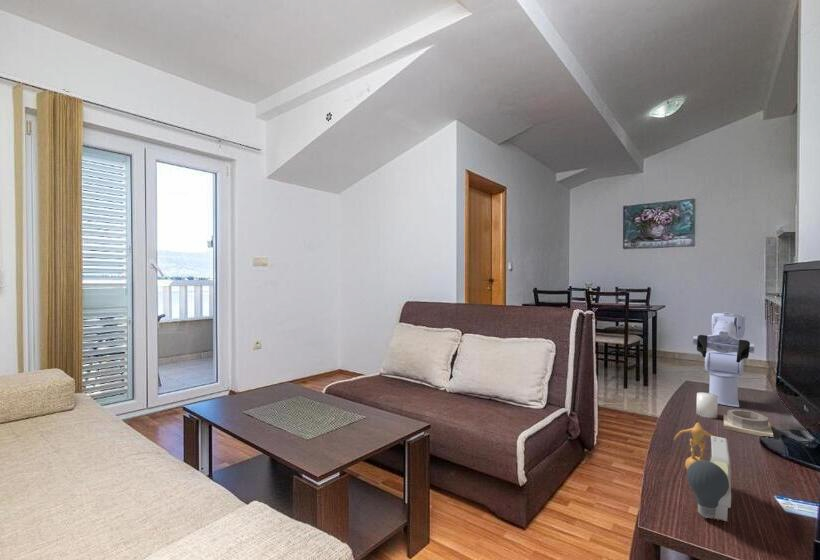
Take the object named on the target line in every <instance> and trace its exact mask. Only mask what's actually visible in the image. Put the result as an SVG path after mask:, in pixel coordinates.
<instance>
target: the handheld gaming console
mask: <svg viewBox="0 0 820 560" xmlns="http://www.w3.org/2000/svg"><path fill="white" fill-rule="evenodd" d="M728 446H729V445H728V440H727V438H725V437H721V436H715V435H713V436H711V437H710V447H709V448H710V449H709V462H712V463H714V464H716V465H718V466H719V467H720V468H721V469H722V470H723V471H724V472H725V474H726V476H727V478H728V482H729V489H728V491H727V493H726V494H725V495H724V496H723V497H722V498H721V499H720V500H719V502H718V506H717V507H716V508H715V516H714V517H715V518H719V519H723V520H725V521H727V522H728V509H730V508H731V507H732V487H731V461H730V453H729V447H728Z"/></svg>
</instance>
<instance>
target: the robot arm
mask: <svg viewBox="0 0 820 560" xmlns="http://www.w3.org/2000/svg"><path fill="white" fill-rule="evenodd" d="M745 332H746V316H745V314H738V313H731V312H729V311H725V312H724V311H723V312H722V313H721V312H717V313H715V312H714V313H713V314H712V315H711V334H706V335H704V334H700V335H694V336H693V338H692V345H696V350H697V352H699V353H700V354H701V355H702V357H703V358H704V371H706V372H708V374H709V386H708V387H709V388H708V389H709V391H708V393H710V394H714V395H716V396H718V404H717V405H722V406H729V407H735V408H739V407H740V403H739V398H738V391H739V390H738V386H739V385H738V384H739V382H738V380H739V377H742V376H743V375H744V362H745V361H744V360H745V359H748V358H749V356H750V353H751V354H755V346H756V345H755V343H751V342H750V341H748V340H746V339H743V338H744V336H745ZM708 349H710V350H708ZM707 350H708V351H707Z"/></svg>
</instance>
